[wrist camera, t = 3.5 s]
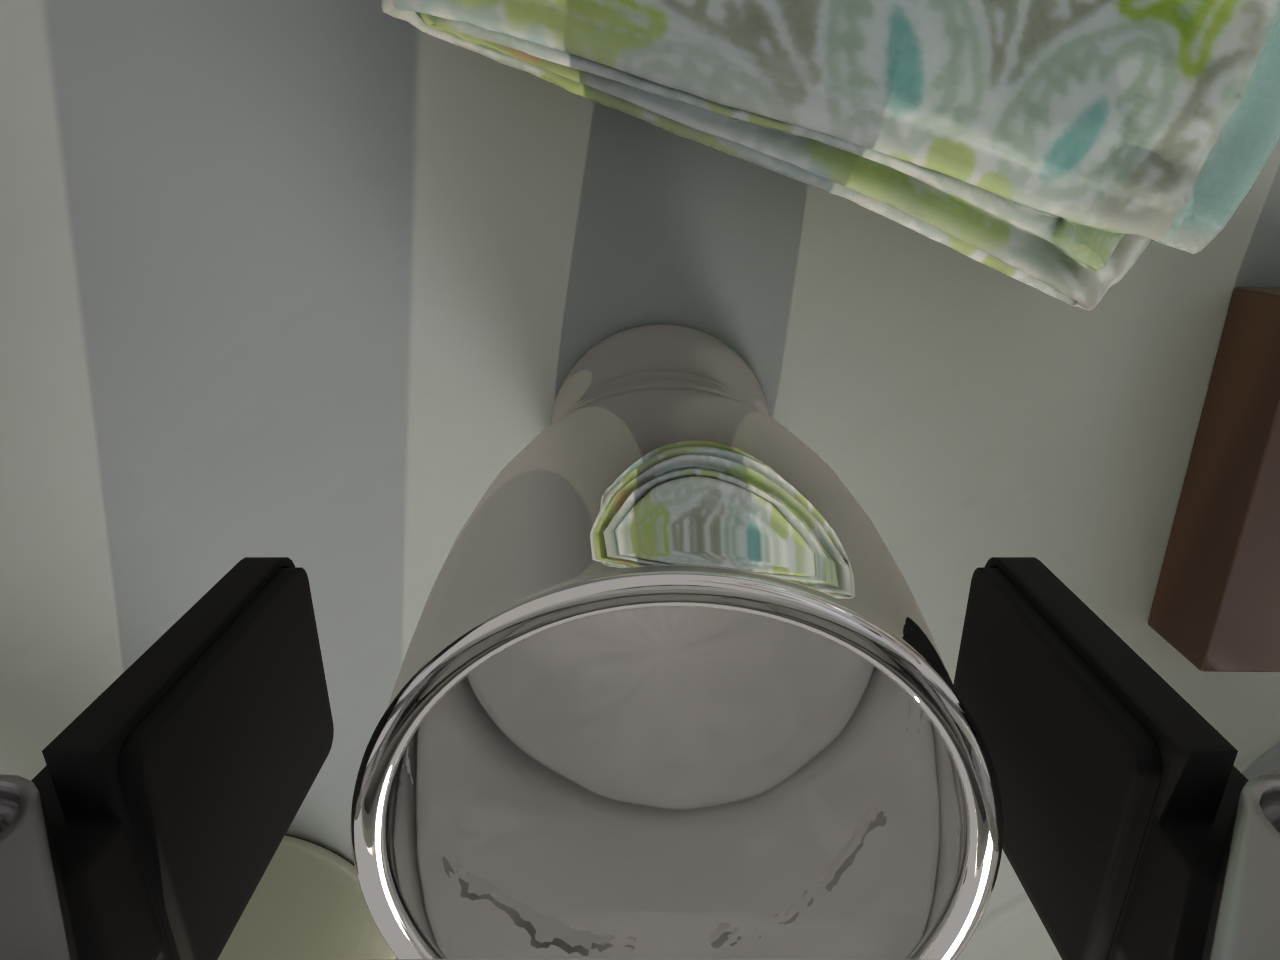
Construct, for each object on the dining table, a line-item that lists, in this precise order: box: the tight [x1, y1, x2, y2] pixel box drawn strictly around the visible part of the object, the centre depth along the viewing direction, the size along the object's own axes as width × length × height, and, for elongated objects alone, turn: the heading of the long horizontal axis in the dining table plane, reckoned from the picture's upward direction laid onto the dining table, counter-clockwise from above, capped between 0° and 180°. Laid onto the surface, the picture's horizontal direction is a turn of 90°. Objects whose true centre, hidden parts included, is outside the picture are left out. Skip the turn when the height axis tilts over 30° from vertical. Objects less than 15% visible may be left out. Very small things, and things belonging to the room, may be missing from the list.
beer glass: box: [351, 324, 1003, 960], centre depth 15 cm, size 7×7×15 cm
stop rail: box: [1148, 287, 1280, 672], centre depth 21 cm, size 2×10×2 cm, turn 0°
